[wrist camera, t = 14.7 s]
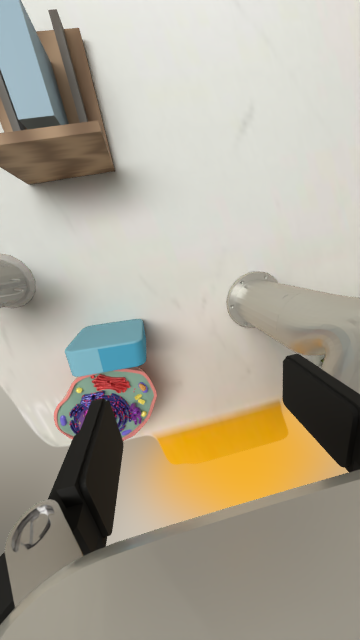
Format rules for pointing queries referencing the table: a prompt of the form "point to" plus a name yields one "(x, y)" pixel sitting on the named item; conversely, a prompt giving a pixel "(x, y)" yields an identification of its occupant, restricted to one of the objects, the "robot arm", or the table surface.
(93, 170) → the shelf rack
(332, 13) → the table surface
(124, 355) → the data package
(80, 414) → the cell model
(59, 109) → the light blue rectangular block
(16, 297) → the french press
